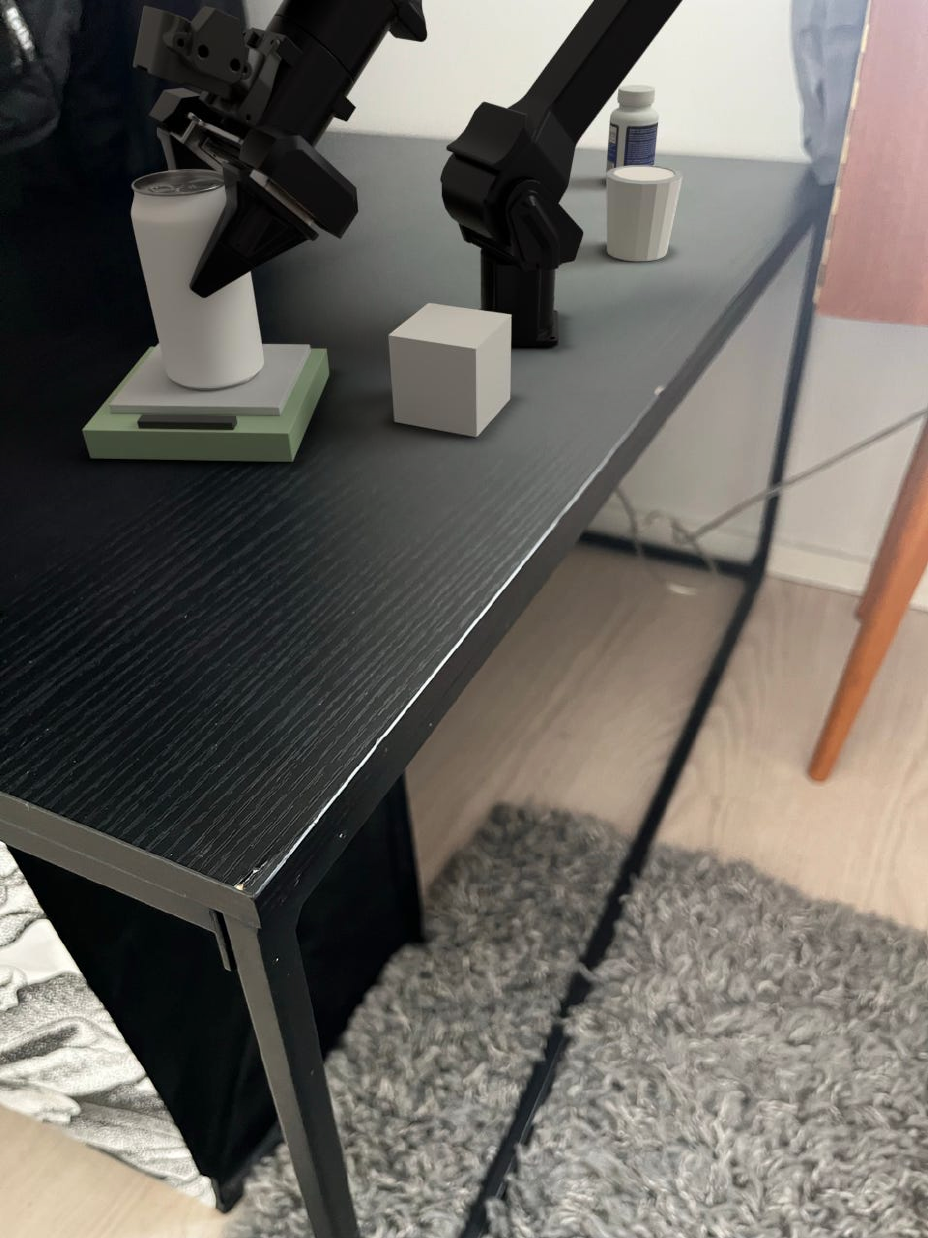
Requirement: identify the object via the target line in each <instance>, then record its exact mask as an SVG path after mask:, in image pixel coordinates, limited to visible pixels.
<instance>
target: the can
mask: <svg viewBox="0 0 928 1238" xmlns="http://www.w3.org/2000/svg"><path fill="white" fill-rule="evenodd" d="M131 189H132V190H133V192H134V195H133V200H132V201H133V202H132V205H131V209H130V217H131V222H132V227H133V232H134V236H135V241H136V242H135V243H136V245H137V250H138V254H139V259H140V264H141V269H142V273H143V277H144V281H145V285H146V290H147V294H148V300H149V303H150V308H151V312H152V316H153V321H154V325H155V330H156V334H157V338H158V343H160V347H161V352H162V356H163V360H164V364H165V368H166V372H167V375H168V377H169V378H170V379H171V380H173V381H174V382H175V383H176V384H178V385H179V386H181V387H184V388H187V389H192V390H202V391H210V390H221V389H227V388H232V387H235V386H239V385H241V384H244V383H246V382H248V381H250V380H252V379H253V378H255V377H256V376H257V375H258V373H259V372H260V370H261V369H262V367H263V365H264V355H263V348H262V344H263V343H262V335H261V329H260V323H259V322H260V321H259V315H258V309H257V304H256V297H255V290H254V284H253V277H252V271H250V272H248V273H247V274H245V275H243V276H242V277H240V278H238V279H237V280H235V281H233V282H232V283H230V284H228V285H227V286H225V287H223V288H222V289H220V290H218V291H217V292H215V293H213V294H212V295H210V296H209V297H207V298H202V297H200V296H199V295H197V294H196V293H194V292H193V291H192V290H190V287H189V285H190V282H191V280H192V277H193V275H194V272H195V270H196V267H197V265H198V262H199V260H200V258H201V256H202V254H203V252H204V249H205V247H206V245H207V243H208V241H209V239H210V237H211V234H212V232H213V230H214V228H215V226H216V224H217V222H218V219H219V217H220V215H221V213H222V211H223V209H224V207H225V204H226V191H225V184H224V177H223V173H222V172H218V171H213V170H205V169H183V170H171V171H168V170H165V171H159V172H155V173H150V174H146V175H143V176H141V177H139V178H137V179H135V180H134V181H132V183H131Z"/></svg>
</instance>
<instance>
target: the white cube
mask: <svg viewBox="0 0 928 1238" xmlns="http://www.w3.org/2000/svg"><path fill="white" fill-rule="evenodd" d="M387 338H388V351H389V363H390V364H389V365H390V379H391V391H392V392H391V393H392V394H391V395H392V407H393V409H392V410H393V421H394V423H400V424H405V425H409V426H415V427H421V428H424V429H430V430H437V431H440V432H441V431H442V432H446V433H451V434H456V435H463V436H468V437H472V438H478V437H479V435H481V433H482V432H483V431H484V430H485V428H487V426H488V425H489V424H490V423H491V422H492V421H493V420H494V418H496V416H497V415H498V414H499V413H500V411H501V410H502V409H503V408H504V407H505V406H506V405H507V404H508V402H509V401H510V400H511V376H512V375H511V374H512V373H511V372H512V371H511V370H512V369H511V368H512V367H511V366H512V345H511V315H510V314H503V313H496V312H489V311H482V310H480V309H475V308H467V307H460V306H453V305H446V304H440V303H432V302H428V303H426V304H425V305H424V306H423V307H421V309H419V310H417V312H415V313H414V314H413V315H411V316H410V317H409V318H408V319H406V320H405V321H404V322H403V323H401V325H399V326H398V327H397V328H396V329H394V330H393V331H391V333H389V334H388V337H387Z"/></svg>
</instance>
